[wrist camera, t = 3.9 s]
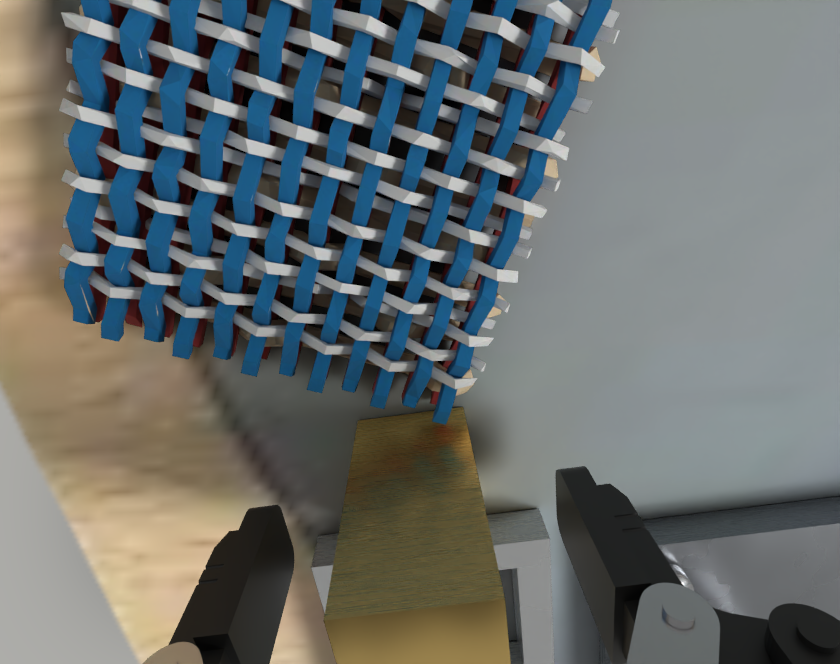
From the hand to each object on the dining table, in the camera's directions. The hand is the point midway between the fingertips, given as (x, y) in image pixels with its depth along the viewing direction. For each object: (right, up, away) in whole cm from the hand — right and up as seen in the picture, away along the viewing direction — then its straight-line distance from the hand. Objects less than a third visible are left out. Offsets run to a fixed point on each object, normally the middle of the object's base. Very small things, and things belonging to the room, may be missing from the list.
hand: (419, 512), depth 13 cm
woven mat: (-2, +9, -1) cm, 9 cm away
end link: (0, -3, +3) cm, 4 cm away
